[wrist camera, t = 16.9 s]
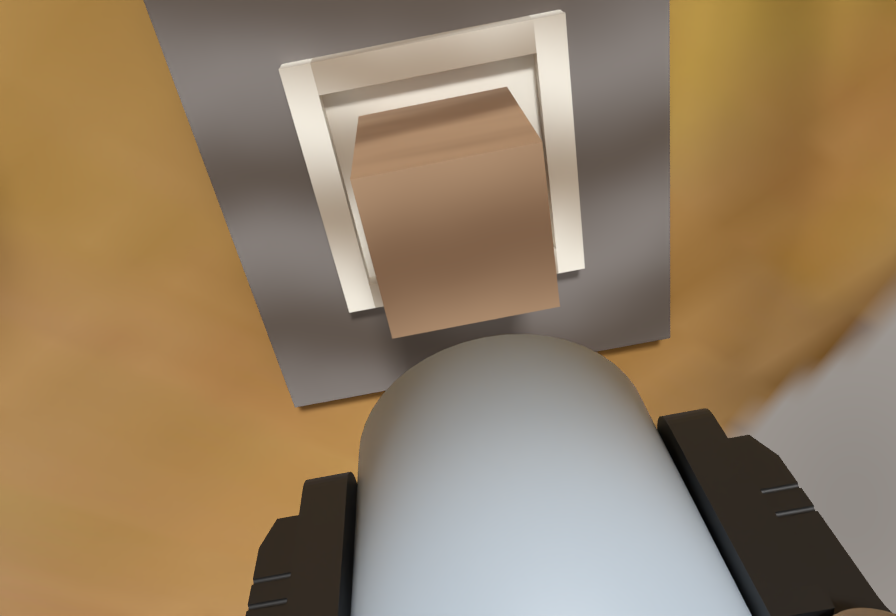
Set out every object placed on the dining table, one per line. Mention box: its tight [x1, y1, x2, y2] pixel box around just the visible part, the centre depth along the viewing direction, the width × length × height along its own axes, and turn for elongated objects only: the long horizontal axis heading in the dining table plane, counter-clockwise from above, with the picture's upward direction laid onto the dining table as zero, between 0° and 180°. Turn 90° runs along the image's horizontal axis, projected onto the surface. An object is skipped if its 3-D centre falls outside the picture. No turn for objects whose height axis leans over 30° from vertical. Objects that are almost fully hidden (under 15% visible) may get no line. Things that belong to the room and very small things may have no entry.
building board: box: [144, 0, 670, 407], centre depth 24 cm, size 18×16×2 cm
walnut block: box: [350, 87, 560, 339], centre depth 21 cm, size 5×5×6 cm
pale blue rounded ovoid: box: [351, 334, 752, 616], centre depth 9 cm, size 5×5×6 cm
